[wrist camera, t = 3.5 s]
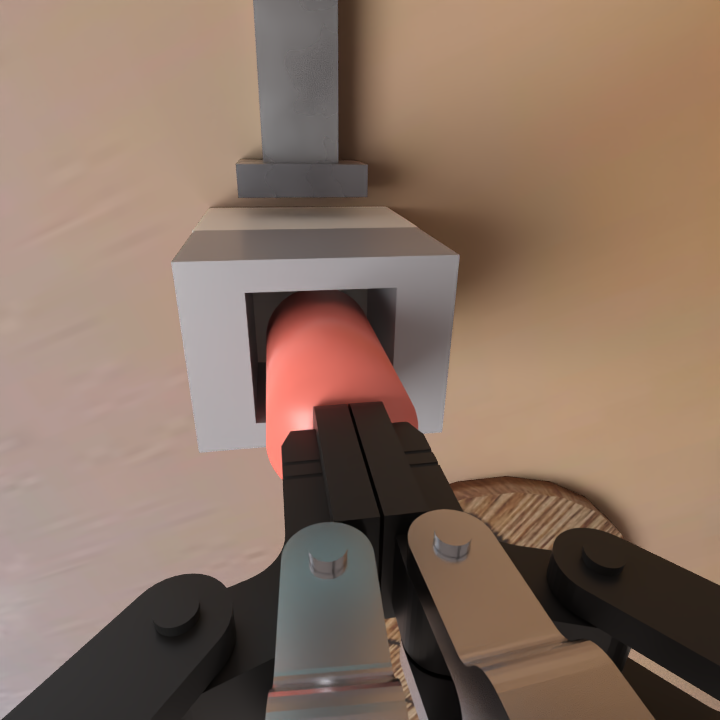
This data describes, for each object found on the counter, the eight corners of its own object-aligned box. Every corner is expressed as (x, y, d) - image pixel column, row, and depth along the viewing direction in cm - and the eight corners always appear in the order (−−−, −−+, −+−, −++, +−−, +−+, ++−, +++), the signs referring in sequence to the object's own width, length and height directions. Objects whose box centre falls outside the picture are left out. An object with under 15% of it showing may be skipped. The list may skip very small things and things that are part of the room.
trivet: (451, 409, 29) (462, 426, 27) (679, 556, 38) (698, 576, 37) (223, 669, 35) (221, 696, 33) (469, 740, 45) (477, 765, 43)
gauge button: (262, 288, 15) (260, 374, 10) (370, 285, 16) (423, 364, 10) (269, 385, 17) (270, 506, 11) (368, 379, 17) (413, 491, 12)
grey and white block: (208, 208, 22) (169, 262, 13) (386, 206, 23) (461, 255, 14) (222, 334, 24) (197, 452, 15) (381, 326, 26) (443, 431, 17)
